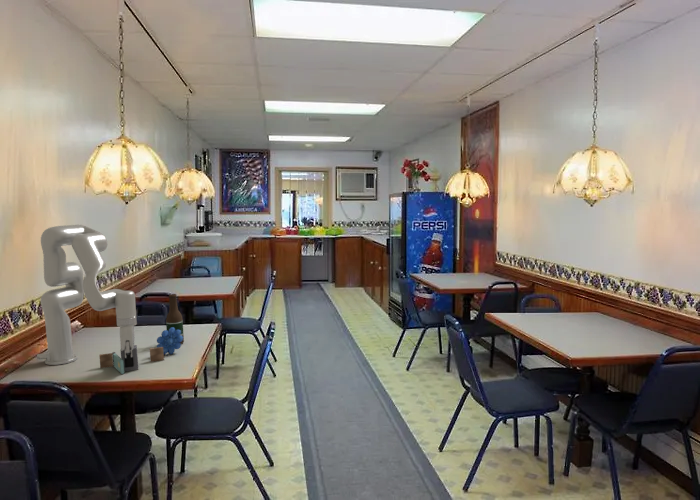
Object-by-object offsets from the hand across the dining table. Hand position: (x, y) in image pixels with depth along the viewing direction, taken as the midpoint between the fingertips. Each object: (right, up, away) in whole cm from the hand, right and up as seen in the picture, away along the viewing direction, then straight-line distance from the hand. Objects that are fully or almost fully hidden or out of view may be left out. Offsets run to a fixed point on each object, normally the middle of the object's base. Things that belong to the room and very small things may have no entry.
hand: (129, 364), depth 222 cm
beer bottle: (+7, +2, +37) cm, 37 cm away
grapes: (+10, 0, +21) cm, 23 cm away
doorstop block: (0, -2, 0) cm, 2 cm away
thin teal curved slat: (-4, -2, -1) cm, 5 cm away
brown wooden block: (-1, -1, +8) cm, 8 cm away
